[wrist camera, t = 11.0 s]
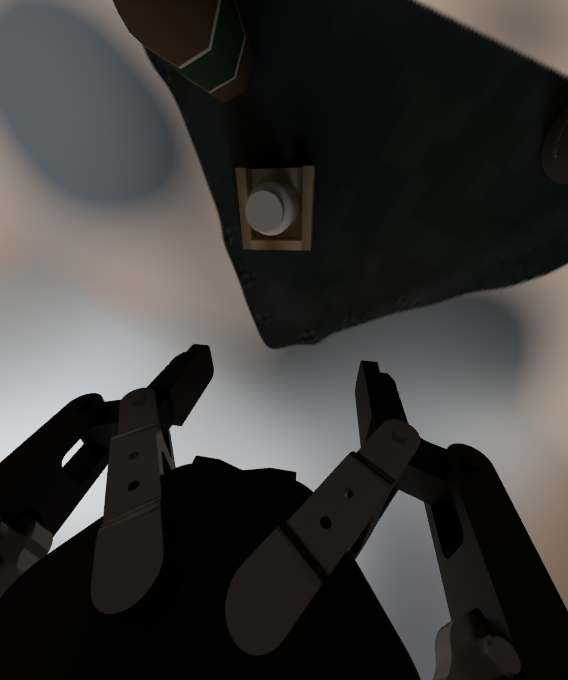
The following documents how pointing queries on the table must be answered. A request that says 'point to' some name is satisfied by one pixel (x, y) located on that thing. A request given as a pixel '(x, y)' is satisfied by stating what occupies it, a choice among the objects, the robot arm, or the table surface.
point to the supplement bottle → (272, 207)
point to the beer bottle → (196, 40)
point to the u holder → (301, 228)
